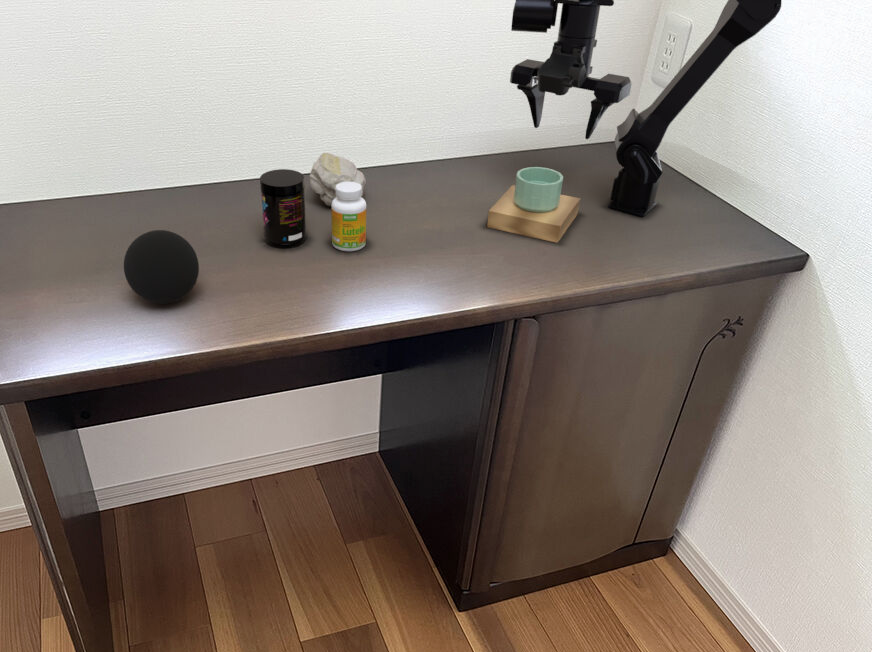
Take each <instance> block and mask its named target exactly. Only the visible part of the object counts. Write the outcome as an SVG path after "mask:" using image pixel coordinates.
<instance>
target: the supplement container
mask: <svg viewBox="0 0 872 652" xmlns="http://www.w3.org/2000/svg"><path fill="white" fill-rule="evenodd" d="M259 185H260V187H259V188H260V193H261V194H260V195H261V210H262V222H263V237H264V240H265V242H266V243H267V244H268V245H270V246H272V247H275V248H279V249H289V248H295V247H298V246H300V245H301V244H303V243H304V242H305V240H306V237H307V226H306V225H307V224H306V223H307V222H306V200H305V199H306V198H305V196H306V195H305V176H304V174H303V173H302V172H300V171H297V170H294V169H289V168H280V169H272V170H268V171H265V172H264V173H262V174H261V175H260V176H259Z"/></svg>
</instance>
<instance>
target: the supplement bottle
mask: <svg viewBox="0 0 872 652" xmlns="http://www.w3.org/2000/svg"><path fill="white" fill-rule="evenodd" d="M336 196H337V197H336V198H334V199H333V201H332V206H330V207H331V210H330V211H331V244H332V246H333V247H334V248H335V249H336V250H338V251H342V252H356V251H360V250H362V249H363V248H365V246H366V243H367V202H366V200H365V199H364V198H363V197H362V196H363V195H362V186H361V185H360V184H359V183H356V182H341V183H339V184H337V185H336Z"/></svg>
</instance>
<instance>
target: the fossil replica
mask: <svg viewBox="0 0 872 652" xmlns="http://www.w3.org/2000/svg"><path fill="white" fill-rule="evenodd" d="M341 182H356V183H359V184H360V185H361V186H362V196H363V195H364V189H365V187H366V185H367V180H366V178H365V175H364V173H363V172H362V171H360V170H359V169H358V168H357V166H356V165H355V163H354V162H352V161H350V159H348V158H345V157H343V156H338V155H335V154H334V153H330V152H323V153H321V154H320V155H319V157H317V160H316V161H315V162H313V164H312V167H311V170H310V174H309V183H310V187H311V189H312V191H313V192H314V193H315V194H318V195H319V198H320V200H321V201H322V202H324V204H325V206H328V207H331V206H332V201H333V199H334V198H336V197H337V196H336V185H337V184H339V183H341Z"/></svg>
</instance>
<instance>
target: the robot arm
mask: <svg viewBox="0 0 872 652" xmlns="http://www.w3.org/2000/svg"><path fill="white" fill-rule="evenodd" d="M559 4H562V5H561V12H560V19H559V25H558V33H557V40H556V41H554V42H553V46H552V50H551V53H550V55H549V57H548V58H547V59H545V61H540V60H535V59H529V58H527V59H524V60H523V61H521V62H519V63H517V64H515V65H514V66H513V67H512V69H511V71H510V78H509V83H511V84H512V85H513V84H514V85H516V89H517V90H519V91H522V93H523V94H524V95H525V97H526V99H527V102H528V105H529V109H530V114H531V118H532V123H533V127H534V129H538V128H539V127H540V124H541V121H542V116H543V108H544V102H545V97H546V93H550V94H555V96H564V95H566V94H567V93H568V92H569V90H570V89H572V88H575V89H576V88H577V89H581V90H586V91H592V92H593V95H594V97H595V98H594V99H592V100H591V101H590V108H591V109H590V113H589V118H588V121H587V124H586V125H587V126H586V130H585V137H584V138H585V140H588V139H590V138H591V137H592V135H593V133H594V131H595V130H596V128H597V126H598V124H599V122H600V121H601V119H602V118H603V116H604V114H605V112H606V111H607V110H608V109H609V107H611V106H612V105H614V104H618V103H620V102H622V101H623V100H624V99H626V98H627V97H629V96H630V94H631V89H632V81H631V78H630V77H629V76H624V75H619V74H613V73H607V74H606V75H604V76H602V77H601V78H596V77H591V76H590V75H591V74H592V72H593V68H594V67H593V66H591V65H592V59H593V54H594V53H593V52H594V48H597V43H598V39H596V36H597V28H598V23H599V16H600V11H601V6H603V7H613V6H614V5H615V0H515V2H514V5H513V10H512V17H511V28H510V29H511V32H524V33H525V32H526V33H543V34H544V33H545V34H546V33H548V30H551V28H552V27H556V22H557V14H558V7H559ZM781 9H782V0H727V2H726V4H724V6H723V8H722V10H721V13H720V15H719V17H718V19H717V21H716V24H715V25H714V27H713V30H712V31H711V32H710V33H709V35H707V37H706V38H705V39H704V40H703V42H702V43H701V44H700V45H699V47H698V48H697V49H696V50H695V51H694V53H693V54H692V55H691V56H690V58H689V59H687V61H686V63H685V64H684V65H683V66H682V67H681V68H680V69H679V70H678V72H677V73H676V74H675V75H674V77H673V78H672V79H671V80H670V82H669V83H668V84H667V85H666V86H665V88H663V90H662V91H661V92H660V93H659V95H658V96H657V97H656V98H655V99H654V101H652V103H651V104H650V105H649V106H648V107H646V108H645V109H644V110H642V111H640V112H638V111H637V110H636V109H635V108H632V109H631V110H630V111H629V113H628V115H627V116H626V118H625V120H624V121H623V122H622V123H620V124H619V125H617V126H616V132H617V133H616V134H615V137H614V149H615V157H616V160H617V162H618V164H619V165H620V166H621V167H622V168H621V169H620V170H618V175H617V176H616V177H614V178H613V179H614V180H613V182H612V189H611V193H610V198H609V199H610V202H609V203H608V208H610V209H613V210H616V211H620V212H623V213H628V214H631V215H635V216H638V217H645V216H646V215H647V214H648V213H649V212H651V211H652V210H653V209H655V207H656V206H657V204H658V202H657V201H655V200H656V195H657V192H658V188H659V185H660V179H661V176H662V175H663V170H662V165H661V161H660V157H659V153H658V152H657V151H658V149H659V147H660V146H661V143H662V141H663V139H664V137H665V135H666V133H667V131H668V128H669V126H670V125H671V124H672V123H673V121H675V119H676V118H677V117H678V116H679V114H680V113H681V112H682V111H683V110H684V109H685V107H686V106H687V105H688V104H689V103H690V101H691V100H692V99H694V97H695V95H697V93H698V92H699V91H700V90H701V89H702V87H703V86H704V85H705V84H706V83H708V81H709V79H710V78H711V77H712V76H713V75H714V74H715V72H717V70H718V69H719V68H720V66H721V65H722V64H724V62H725V61H726V60H727V58H728V57H729V56H730V55H731V54H732V52H734V50H736V49H737V48H738V47H739V46H741V45H742V44H744V43H745V42H747V41H748V40H750V39H751V38H753V37H755V36H756V35H758V34H759V32H761V31H762V30H763V29H764V28H766V27H767V26H768V25H769V24H770V23H771V22H772V21H773V20H774V19H775V18H776V17H777V16H778V14H779V12H780V11H781Z"/></svg>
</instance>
